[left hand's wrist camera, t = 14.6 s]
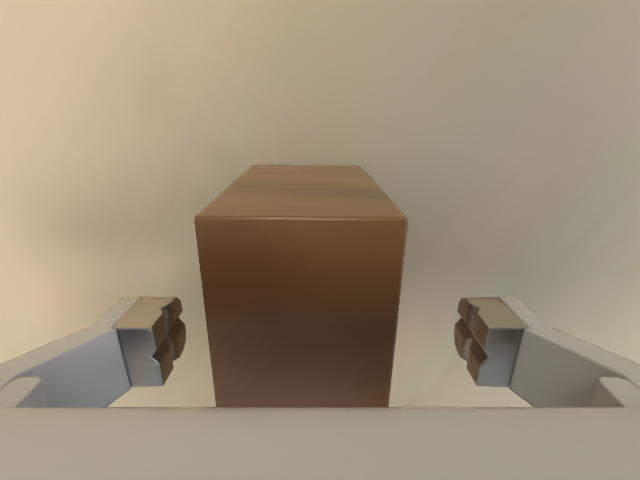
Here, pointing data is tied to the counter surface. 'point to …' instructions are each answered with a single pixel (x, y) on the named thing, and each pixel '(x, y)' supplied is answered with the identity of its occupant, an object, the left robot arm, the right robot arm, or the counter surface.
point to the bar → (301, 287)
